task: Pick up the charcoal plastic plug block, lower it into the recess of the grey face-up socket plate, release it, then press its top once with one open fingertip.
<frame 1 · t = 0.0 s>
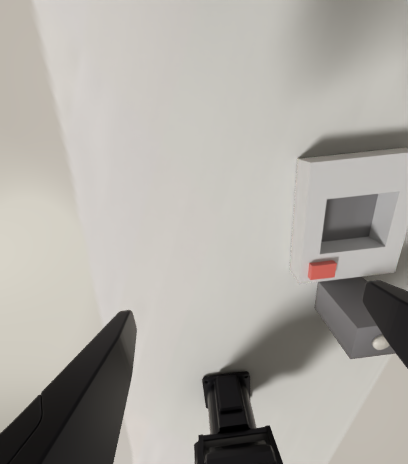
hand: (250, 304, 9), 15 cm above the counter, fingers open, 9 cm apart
socket: (341, 214, 24), on the counter
plug: (336, 292, 28), on the counter
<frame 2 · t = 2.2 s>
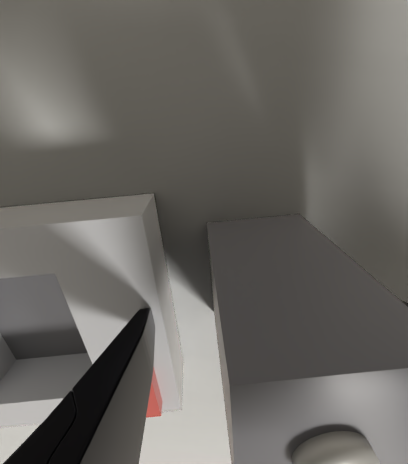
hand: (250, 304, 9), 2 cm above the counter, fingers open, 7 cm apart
socket: (48, 304, 12), on the counter
plug: (252, 267, 11), on the counter
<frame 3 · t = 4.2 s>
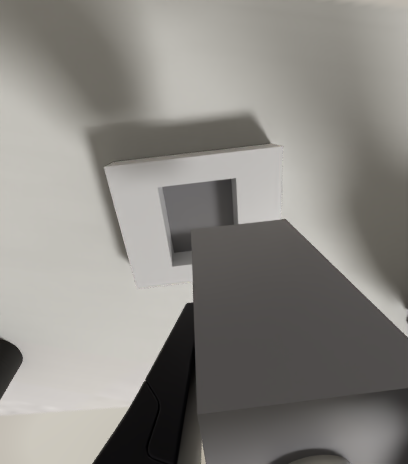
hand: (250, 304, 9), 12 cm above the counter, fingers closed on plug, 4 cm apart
socket: (200, 214, 20), on the counter
plug: (240, 273, 11), point 10 cm above the counter, touching gripper
when the fingers open (3 cm above the counter, at t = 5.9 s): plug stays where it is, resting on socket.
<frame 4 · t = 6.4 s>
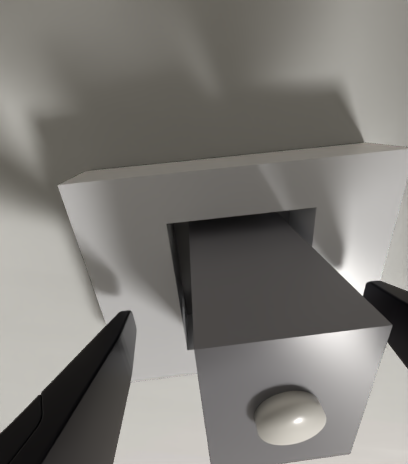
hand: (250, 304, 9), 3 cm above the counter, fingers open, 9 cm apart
socket: (232, 257, 12), on the counter
plug: (233, 260, 12), resting on socket
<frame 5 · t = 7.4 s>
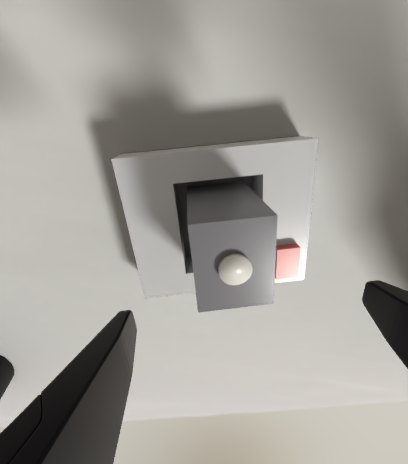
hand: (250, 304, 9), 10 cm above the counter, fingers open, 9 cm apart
socket: (216, 214, 18), on the counter
plug: (217, 216, 18), resting on socket
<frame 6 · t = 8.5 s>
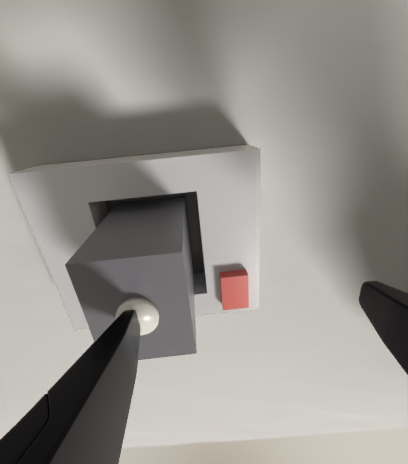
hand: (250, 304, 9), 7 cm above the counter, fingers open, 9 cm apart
socket: (158, 234, 16), on the counter
plug: (158, 236, 16), resting on socket, touching gripper
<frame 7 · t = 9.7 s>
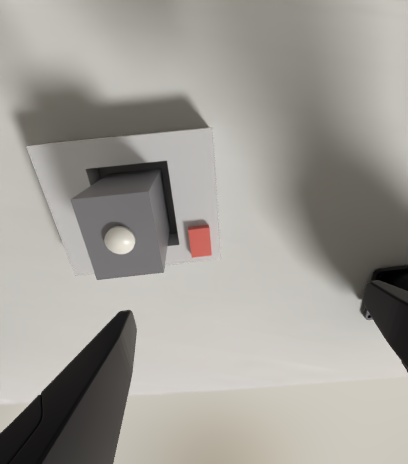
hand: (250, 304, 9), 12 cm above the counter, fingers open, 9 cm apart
socket: (141, 199, 20), on the counter
plug: (141, 201, 20), resting on socket
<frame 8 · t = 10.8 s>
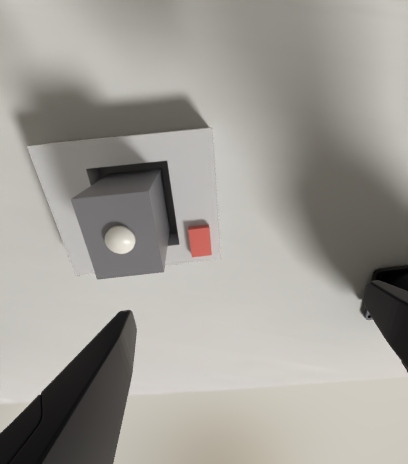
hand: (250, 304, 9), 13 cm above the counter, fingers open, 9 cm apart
socket: (142, 199, 20), on the counter
plug: (141, 201, 20), resting on socket
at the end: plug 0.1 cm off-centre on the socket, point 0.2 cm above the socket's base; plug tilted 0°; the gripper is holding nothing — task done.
